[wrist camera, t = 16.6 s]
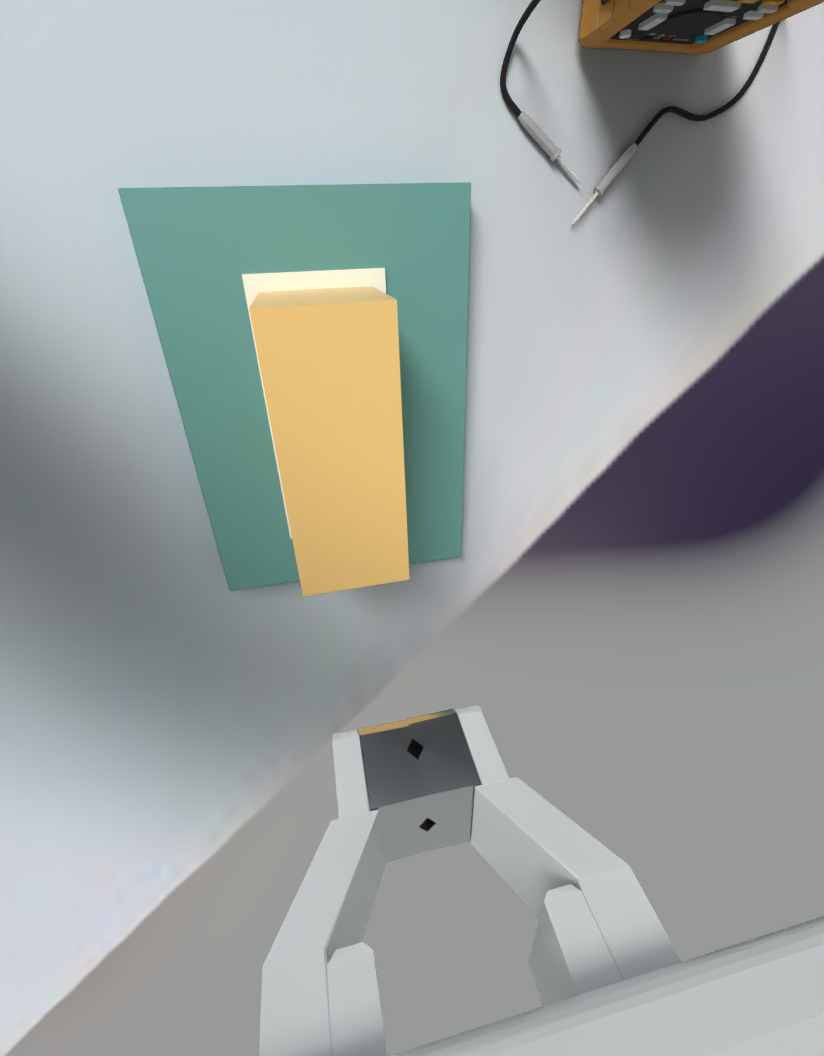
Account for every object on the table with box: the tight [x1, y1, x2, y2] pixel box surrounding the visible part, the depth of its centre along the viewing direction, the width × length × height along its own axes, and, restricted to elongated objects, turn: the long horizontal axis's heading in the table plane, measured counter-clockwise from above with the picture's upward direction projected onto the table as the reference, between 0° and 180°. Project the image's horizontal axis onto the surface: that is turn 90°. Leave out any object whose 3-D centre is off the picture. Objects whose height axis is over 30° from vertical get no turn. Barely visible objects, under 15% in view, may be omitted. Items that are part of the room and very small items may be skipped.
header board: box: [118, 183, 471, 591], centre depth 27 cm, size 22×16×6 cm
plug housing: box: [249, 286, 409, 596], centre depth 25 cm, size 14×6×7 cm, turn 3°
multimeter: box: [500, 0, 824, 226], centre depth 17 cm, size 15×10×20 cm
